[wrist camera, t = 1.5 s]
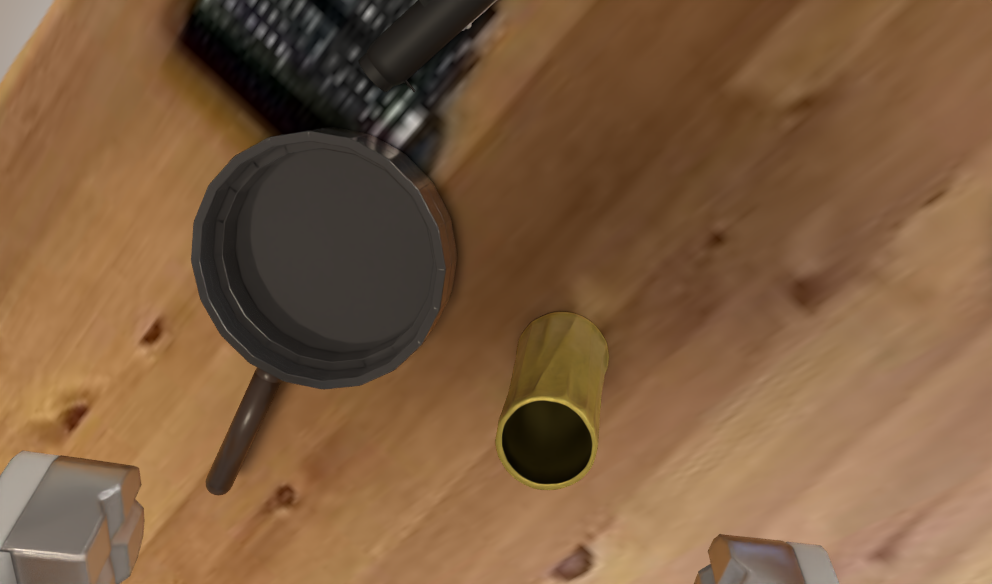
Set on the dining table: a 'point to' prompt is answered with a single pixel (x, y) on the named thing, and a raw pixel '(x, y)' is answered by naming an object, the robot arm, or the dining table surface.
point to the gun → (418, 39)
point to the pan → (323, 256)
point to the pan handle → (242, 432)
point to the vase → (553, 402)
